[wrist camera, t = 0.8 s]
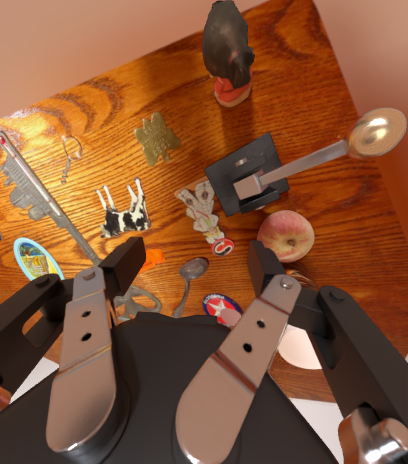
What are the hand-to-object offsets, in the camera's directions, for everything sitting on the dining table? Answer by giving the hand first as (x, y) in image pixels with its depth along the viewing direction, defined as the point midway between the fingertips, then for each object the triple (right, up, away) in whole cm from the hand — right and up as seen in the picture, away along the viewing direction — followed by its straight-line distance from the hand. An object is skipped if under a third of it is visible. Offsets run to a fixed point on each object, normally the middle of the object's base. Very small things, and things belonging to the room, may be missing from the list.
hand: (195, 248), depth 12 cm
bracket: (+8, +11, +18) cm, 23 cm away
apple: (+16, +2, +20) cm, 26 cm away
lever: (+10, +8, +4) cm, 14 cm away
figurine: (+5, +24, +14) cm, 28 cm away
